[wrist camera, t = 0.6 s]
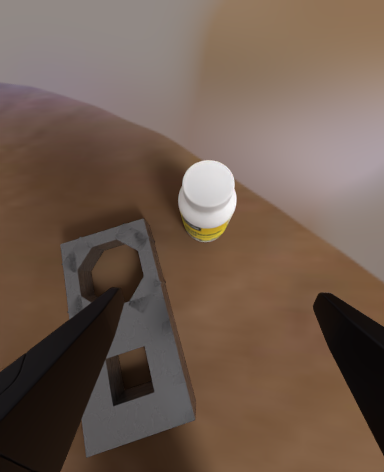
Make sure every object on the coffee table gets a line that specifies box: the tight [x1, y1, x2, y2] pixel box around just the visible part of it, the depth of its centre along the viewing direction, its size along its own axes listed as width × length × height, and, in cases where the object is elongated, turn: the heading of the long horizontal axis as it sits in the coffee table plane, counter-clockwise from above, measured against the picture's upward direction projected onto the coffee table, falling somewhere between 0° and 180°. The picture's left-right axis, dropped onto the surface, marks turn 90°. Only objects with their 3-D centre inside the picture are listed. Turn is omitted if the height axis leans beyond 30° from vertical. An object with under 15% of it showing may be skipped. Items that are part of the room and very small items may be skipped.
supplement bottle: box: [178, 160, 236, 242], centre depth 18 cm, size 5×5×10 cm
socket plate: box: [61, 218, 196, 458], centre depth 19 cm, size 20×10×2 cm, turn 17°
